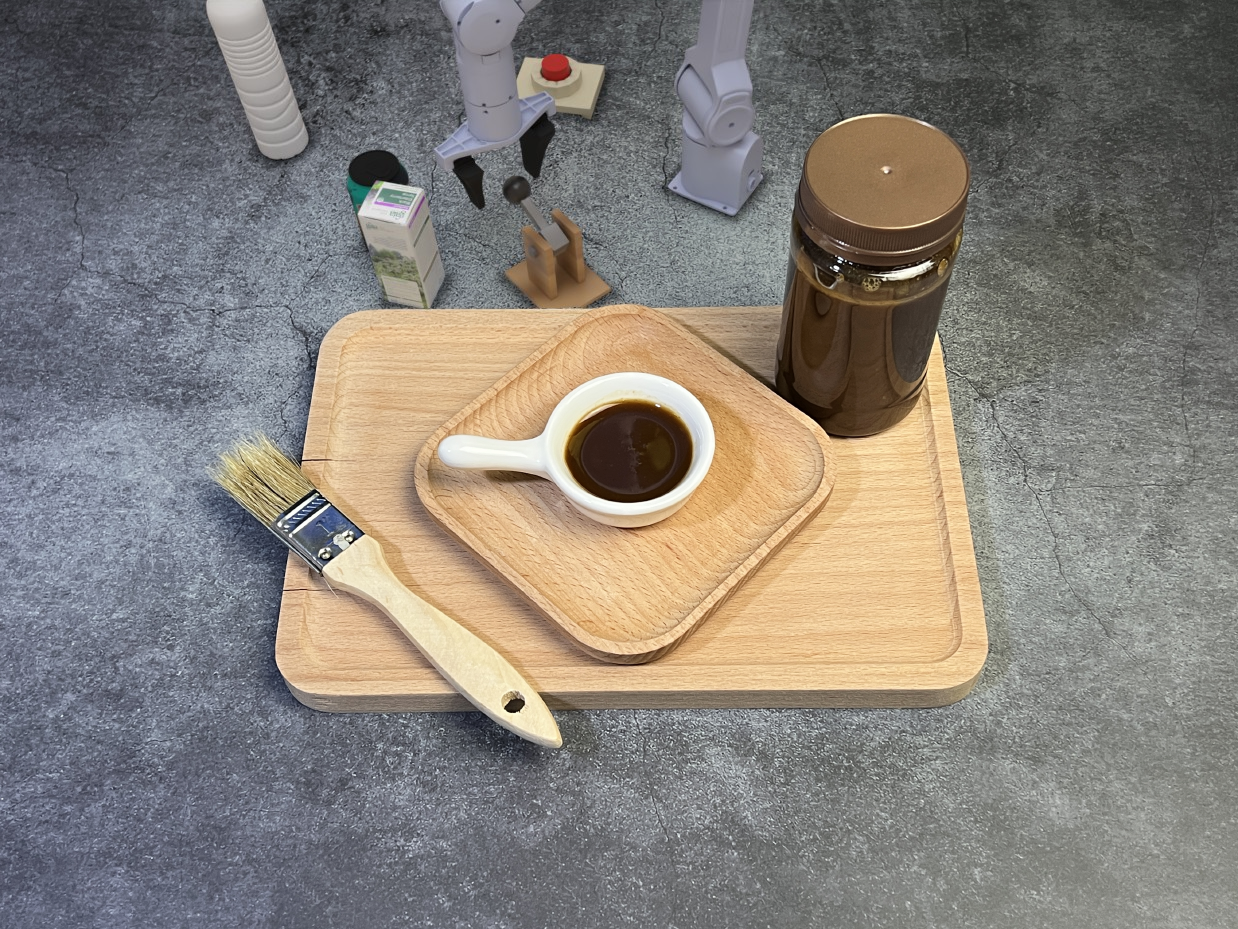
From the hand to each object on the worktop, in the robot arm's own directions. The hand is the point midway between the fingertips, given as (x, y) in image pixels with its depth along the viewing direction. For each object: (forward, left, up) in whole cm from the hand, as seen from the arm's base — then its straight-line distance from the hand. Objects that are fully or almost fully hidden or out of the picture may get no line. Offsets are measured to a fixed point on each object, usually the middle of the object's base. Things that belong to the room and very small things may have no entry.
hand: (505, 188), depth 125 cm
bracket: (-8, +3, -9) cm, 13 cm away
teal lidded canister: (+13, +7, -9) cm, 17 cm away
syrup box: (+6, +12, -9) cm, 16 cm away
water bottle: (+37, -1, -9) cm, 38 cm away
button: (+11, -26, -6) cm, 29 cm away
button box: (+11, -26, -9) cm, 29 cm away
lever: (-5, +2, -1) cm, 5 cm away
